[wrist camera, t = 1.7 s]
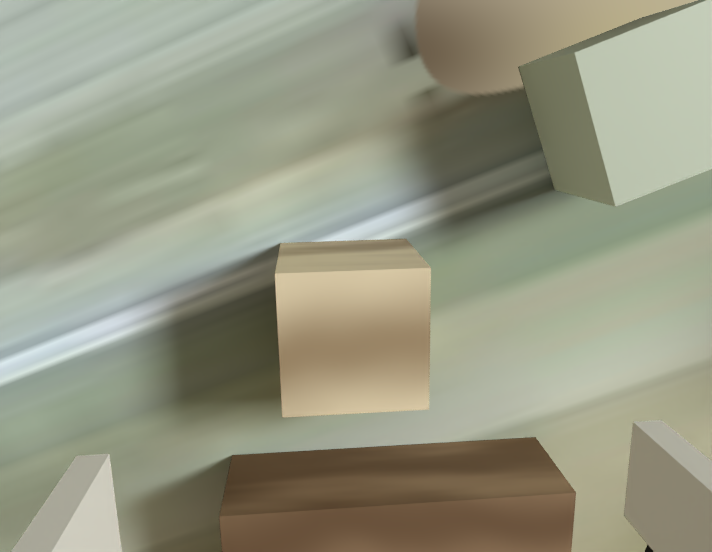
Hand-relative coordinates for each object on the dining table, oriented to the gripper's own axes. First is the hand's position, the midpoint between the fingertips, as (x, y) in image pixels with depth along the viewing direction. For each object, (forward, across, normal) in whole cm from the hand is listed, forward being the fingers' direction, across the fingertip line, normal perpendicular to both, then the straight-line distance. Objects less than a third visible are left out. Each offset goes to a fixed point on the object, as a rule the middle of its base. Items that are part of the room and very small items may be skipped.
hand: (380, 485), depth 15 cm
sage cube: (+15, +12, +9) cm, 22 cm away
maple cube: (+15, 0, 0) cm, 15 cm away
